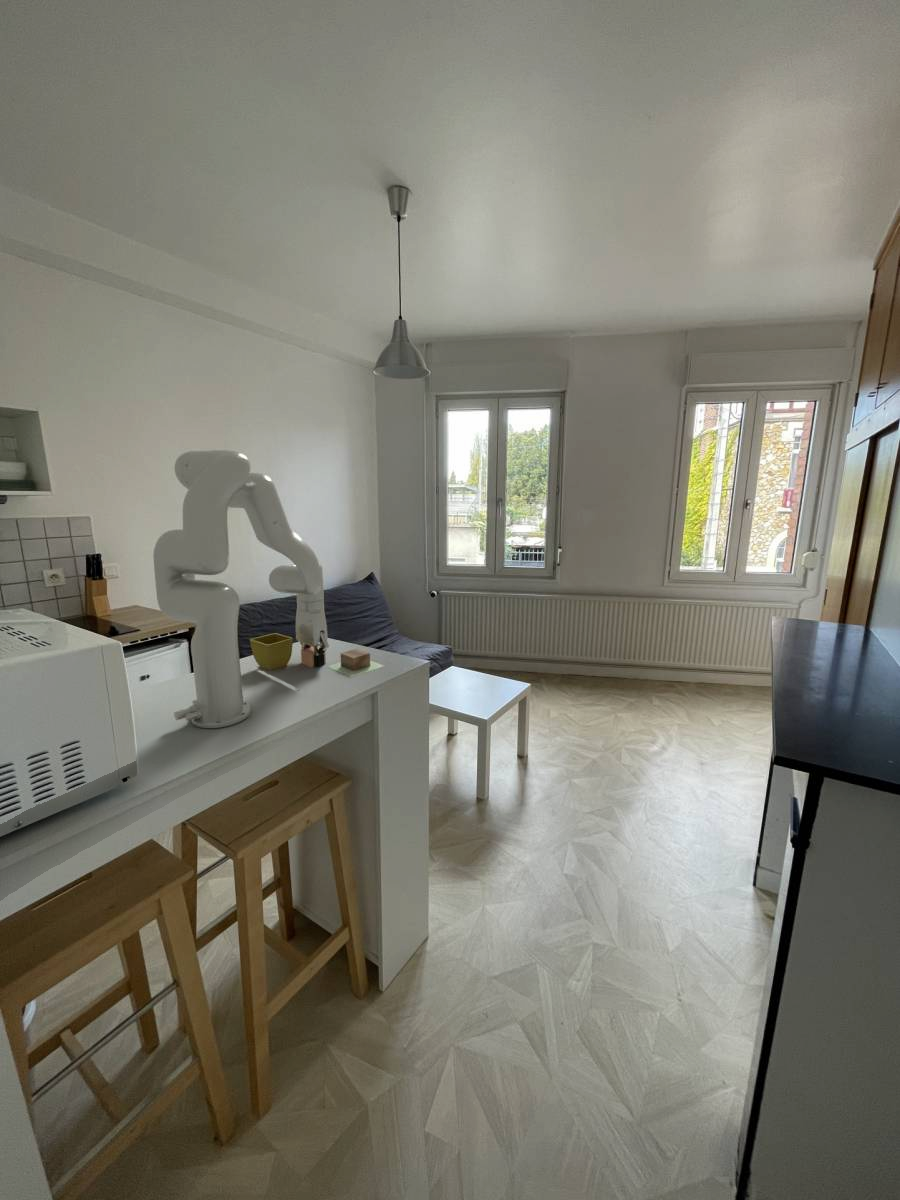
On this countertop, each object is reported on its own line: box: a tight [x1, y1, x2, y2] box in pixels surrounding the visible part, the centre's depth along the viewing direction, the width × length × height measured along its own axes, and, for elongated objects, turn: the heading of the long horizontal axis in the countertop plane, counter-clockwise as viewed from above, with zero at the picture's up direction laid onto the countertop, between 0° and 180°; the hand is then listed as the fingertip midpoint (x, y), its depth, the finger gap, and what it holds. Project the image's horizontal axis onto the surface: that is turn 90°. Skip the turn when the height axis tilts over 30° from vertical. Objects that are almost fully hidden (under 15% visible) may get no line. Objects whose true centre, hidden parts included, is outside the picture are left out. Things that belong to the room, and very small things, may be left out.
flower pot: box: [249, 632, 294, 671], centre depth 143 cm, size 9×9×9 cm
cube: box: [300, 646, 327, 668], centre depth 145 cm, size 5×5×5 cm
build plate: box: [326, 660, 385, 678], centre depth 144 cm, size 12×12×1 cm
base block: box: [340, 648, 371, 671], centre depth 143 cm, size 6×6×4 cm
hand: (313, 664), depth 146 cm, fingers closed on cube, 5 cm apart
